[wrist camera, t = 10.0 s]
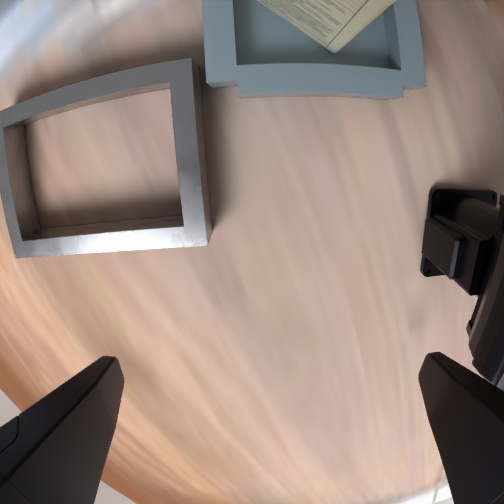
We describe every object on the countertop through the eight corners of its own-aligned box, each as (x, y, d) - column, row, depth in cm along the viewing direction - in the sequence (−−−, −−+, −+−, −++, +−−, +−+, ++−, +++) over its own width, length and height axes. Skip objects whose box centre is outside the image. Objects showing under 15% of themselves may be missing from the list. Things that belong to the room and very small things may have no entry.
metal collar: (198, 65, 17) (191, 57, 14) (212, 231, 20) (207, 245, 18) (12, 113, 17) (-9, 115, 15) (33, 245, 21) (15, 258, 18)
